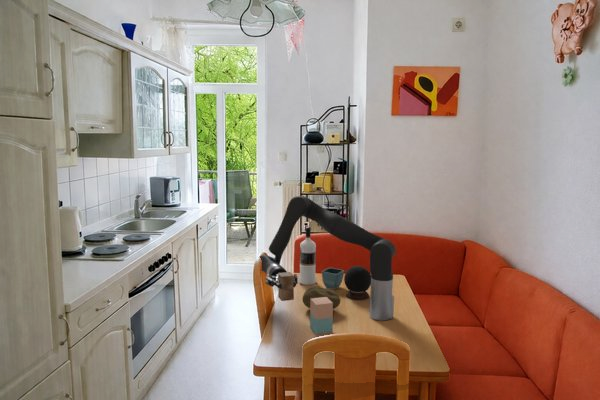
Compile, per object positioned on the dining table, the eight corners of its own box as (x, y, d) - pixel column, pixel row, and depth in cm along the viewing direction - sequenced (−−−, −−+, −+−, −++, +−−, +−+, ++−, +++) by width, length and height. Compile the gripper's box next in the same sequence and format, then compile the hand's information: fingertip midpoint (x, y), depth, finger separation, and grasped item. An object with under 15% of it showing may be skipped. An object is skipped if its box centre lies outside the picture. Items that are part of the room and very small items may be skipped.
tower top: (326, 311, 182) (326, 296, 181) (332, 317, 175) (332, 302, 175) (310, 312, 180) (310, 298, 179) (315, 319, 173) (316, 304, 173)
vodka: (316, 285, 232) (317, 228, 228) (299, 285, 232) (299, 228, 227) (315, 279, 241) (316, 225, 237) (298, 279, 241) (298, 225, 237)
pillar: (290, 295, 183) (290, 271, 181) (293, 299, 178) (293, 275, 177) (278, 296, 181) (278, 273, 180) (281, 301, 176) (281, 276, 175)
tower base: (326, 324, 183) (326, 310, 182) (332, 332, 176) (332, 317, 176) (310, 326, 181) (310, 312, 180) (315, 334, 174) (315, 319, 173)
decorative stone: (341, 307, 202) (341, 285, 201) (339, 316, 192) (339, 294, 190) (304, 304, 206) (305, 283, 204) (300, 313, 195) (300, 291, 193)
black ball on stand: (363, 303, 208) (364, 271, 206) (338, 297, 215) (339, 267, 213) (375, 295, 219) (376, 265, 216) (351, 289, 226) (352, 261, 224)
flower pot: (344, 286, 230) (344, 270, 229) (336, 291, 223) (336, 274, 222) (329, 283, 235) (329, 267, 234) (320, 288, 227) (321, 271, 226)
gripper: (260, 266, 190) (269, 278, 174) (292, 263, 194) (304, 274, 178) (260, 283, 191) (270, 297, 175) (293, 280, 195) (305, 292, 179)
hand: (287, 285), depth 176 cm, fingers closed on pillar, 5 cm apart
